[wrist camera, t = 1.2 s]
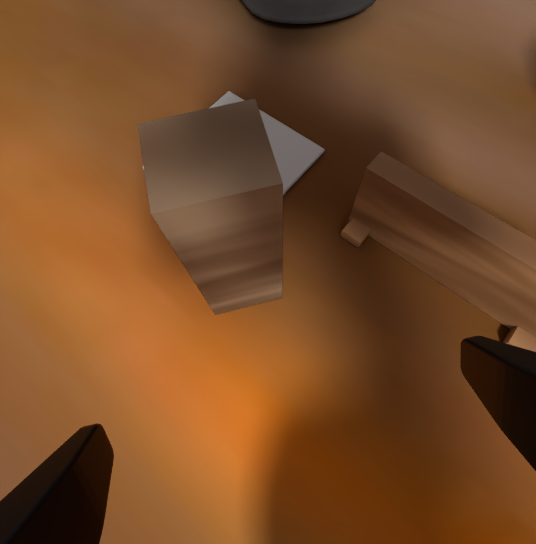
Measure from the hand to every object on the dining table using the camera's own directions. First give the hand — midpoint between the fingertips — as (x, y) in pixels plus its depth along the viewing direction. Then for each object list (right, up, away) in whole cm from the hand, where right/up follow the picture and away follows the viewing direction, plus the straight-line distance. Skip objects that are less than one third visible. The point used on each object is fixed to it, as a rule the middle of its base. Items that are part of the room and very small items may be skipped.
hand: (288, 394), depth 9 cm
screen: (+11, +3, +15) cm, 19 cm away
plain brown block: (-2, +3, +16) cm, 16 cm away
